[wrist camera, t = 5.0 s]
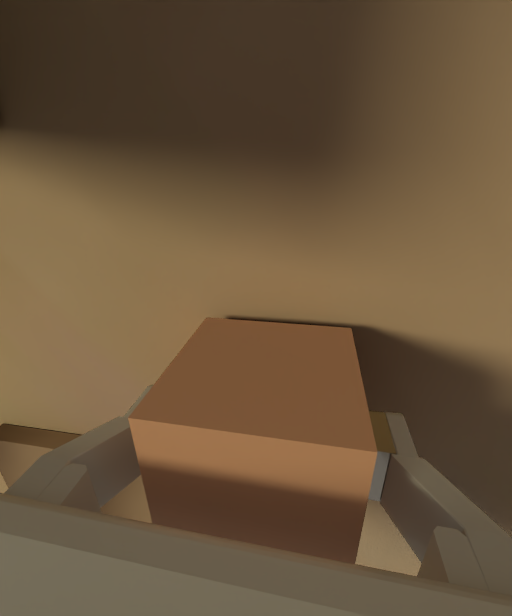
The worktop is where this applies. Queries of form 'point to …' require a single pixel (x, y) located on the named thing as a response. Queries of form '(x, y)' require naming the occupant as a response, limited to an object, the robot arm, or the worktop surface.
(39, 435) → the walnut board
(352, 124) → the worktop surface
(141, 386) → the worktop surface
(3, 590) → the robot arm
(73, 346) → the worktop surface
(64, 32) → the worktop surface
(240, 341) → the terracotta cube
